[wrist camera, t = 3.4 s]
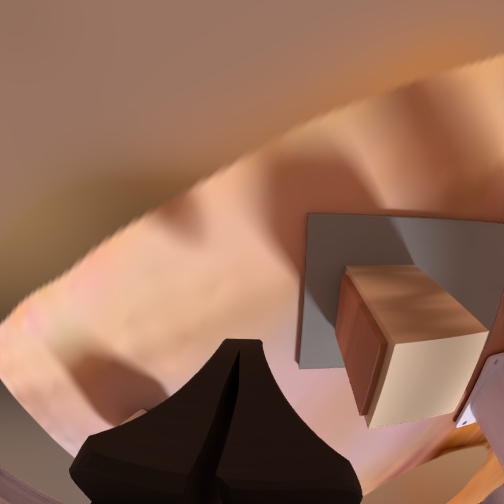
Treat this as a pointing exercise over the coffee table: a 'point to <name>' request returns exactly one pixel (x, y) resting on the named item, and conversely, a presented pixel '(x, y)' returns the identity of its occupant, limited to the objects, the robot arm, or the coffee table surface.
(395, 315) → the maple block
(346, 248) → the slate mat
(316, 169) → the coffee table surface
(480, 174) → the coffee table surface
